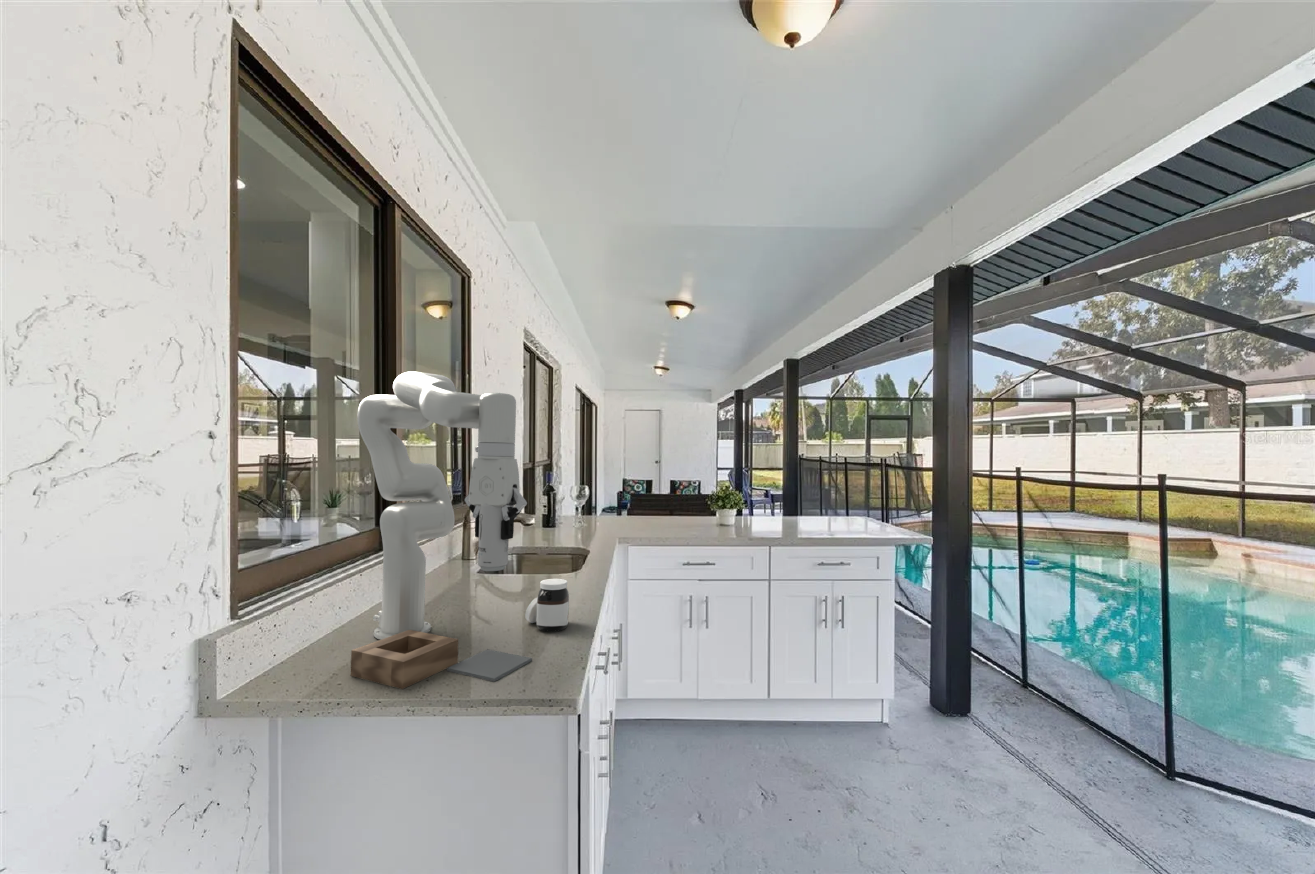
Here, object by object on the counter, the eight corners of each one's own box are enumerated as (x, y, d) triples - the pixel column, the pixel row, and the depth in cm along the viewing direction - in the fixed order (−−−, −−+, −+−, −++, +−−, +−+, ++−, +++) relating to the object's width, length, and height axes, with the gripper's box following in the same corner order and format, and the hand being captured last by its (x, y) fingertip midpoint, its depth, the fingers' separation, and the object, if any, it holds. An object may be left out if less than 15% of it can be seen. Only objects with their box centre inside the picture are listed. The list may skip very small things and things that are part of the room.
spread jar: (564, 634, 134) (565, 586, 134) (518, 633, 134) (519, 585, 135) (572, 619, 146) (573, 575, 146) (530, 618, 146) (531, 575, 147)
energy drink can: (476, 566, 116) (478, 495, 116) (506, 564, 118) (508, 495, 118) (478, 572, 110) (480, 498, 111) (509, 570, 112) (511, 497, 113)
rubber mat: (447, 670, 110) (447, 667, 110) (487, 651, 121) (487, 649, 121) (494, 681, 105) (494, 678, 105) (531, 660, 116) (532, 657, 116)
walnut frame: (350, 675, 107) (351, 650, 107) (408, 652, 120) (409, 629, 120) (402, 689, 101) (403, 662, 102) (457, 663, 114) (458, 639, 114)
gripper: (451, 451, 115) (449, 536, 114) (518, 452, 108) (516, 543, 107) (476, 451, 122) (474, 532, 121) (541, 452, 115) (538, 538, 114)
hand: (494, 536), depth 114 cm, fingers closed on energy drink can, 6 cm apart
